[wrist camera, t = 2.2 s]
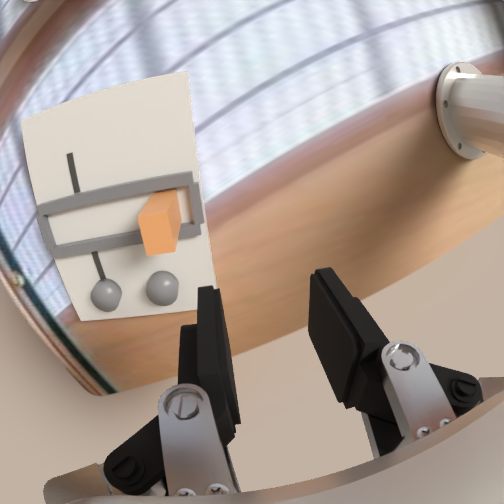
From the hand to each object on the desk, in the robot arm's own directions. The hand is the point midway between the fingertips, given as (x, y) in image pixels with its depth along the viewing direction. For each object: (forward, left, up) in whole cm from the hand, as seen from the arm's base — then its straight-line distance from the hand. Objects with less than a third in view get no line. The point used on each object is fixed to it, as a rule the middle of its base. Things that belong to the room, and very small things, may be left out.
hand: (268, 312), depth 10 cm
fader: (+6, 0, -15) cm, 16 cm away
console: (+10, 0, -17) cm, 20 cm away
